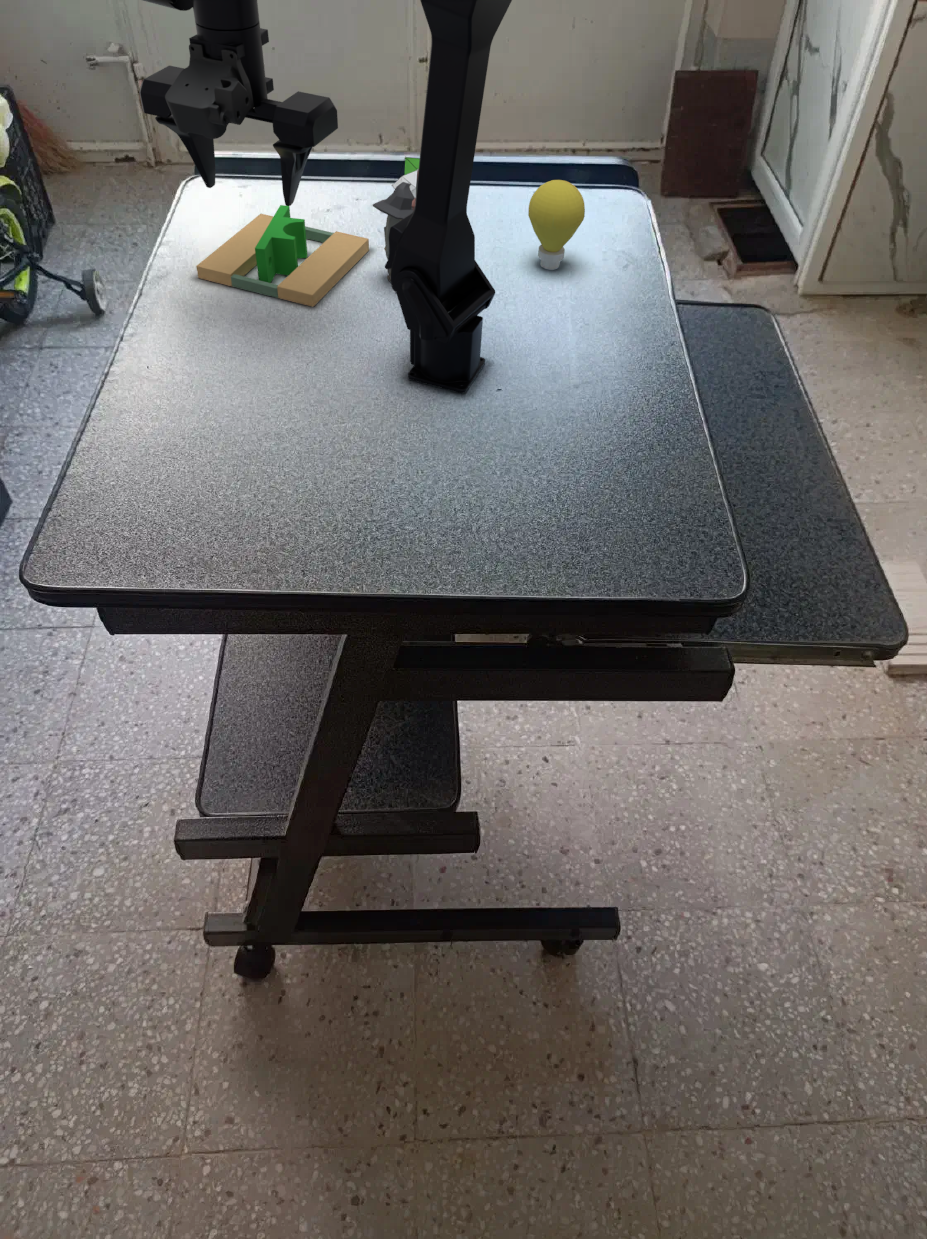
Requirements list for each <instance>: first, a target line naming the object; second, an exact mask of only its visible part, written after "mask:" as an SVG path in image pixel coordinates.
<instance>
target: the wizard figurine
mask: <svg viewBox="0 0 927 1239" xmlns="http://www.w3.org/2000/svg"><path fill="white" fill-rule="evenodd" d="M410 185H411V184H409V183H406V182H402V183H401V184H399V185H398V186H397V187H396V189H394V190H393V191H392V193H391V194H390V195H389V196H388V197H387V198H386V199H382V200H378V201H377V202H374V203H373V204H372V207H374V208H375V209H376V210H378V211H379V212H381V213H383V214H385V215H387V216H386V222H385V226H384V227H383V235H384V247H383V250H384V251H385V256H386V257H385V258H386V259H387V260H388V257H389V232H390V228H391V227H392V226H393V225H395V224H396V223H398V222H399V221H401V220H402V219H404V218H405V217H407V216H408V215H409V214H411V213H412V212H413V211H414V208H415V200H416V198H415V197H414V196H413V194H412V192H411V190H410ZM390 271H391V269H387V277H386V279H387V281H388V282H389V283H391V282H390Z"/></svg>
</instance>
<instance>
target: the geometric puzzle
mask: <svg viewBox="0 0 927 1239" xmlns="http://www.w3.org/2000/svg"><path fill="white" fill-rule="evenodd" d="M419 160H420V157H410V156H409V157H408V156H405V155H404V159H403V161H402V164H401V165H400V167H399V170H398V171H399V175H398V178H397V180H396V179H394V180H393V183H392V184H391V187H392V190H393V191H394V190H395V189H396V187H397V186H398V185H399V184H401V183H402V182H406V183H409V184H411V185H410V190H411V192H412V194H413V196H414V197H415V198H416V190H417V180H418V170H419ZM403 166H404V175H401V174H402V171H403ZM400 169H401V170H400ZM395 180H396V181H395Z"/></svg>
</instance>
